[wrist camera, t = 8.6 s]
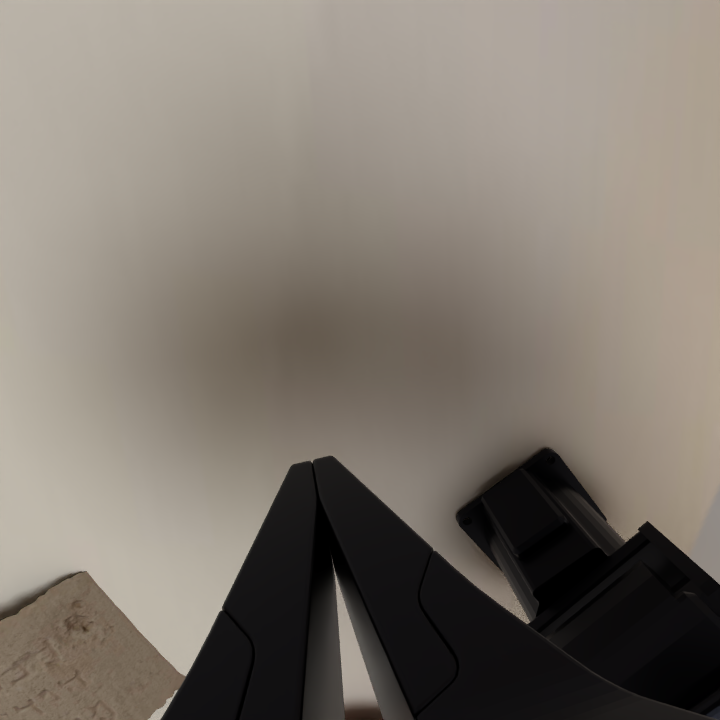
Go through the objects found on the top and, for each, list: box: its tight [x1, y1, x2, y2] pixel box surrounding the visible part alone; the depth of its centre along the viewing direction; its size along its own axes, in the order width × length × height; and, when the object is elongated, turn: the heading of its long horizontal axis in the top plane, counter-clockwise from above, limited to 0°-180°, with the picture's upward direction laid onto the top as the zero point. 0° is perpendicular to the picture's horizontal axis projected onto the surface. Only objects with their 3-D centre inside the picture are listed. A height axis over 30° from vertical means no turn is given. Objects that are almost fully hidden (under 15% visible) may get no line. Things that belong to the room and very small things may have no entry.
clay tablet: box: [0, 571, 185, 720], centre depth 23 cm, size 14×10×3 cm
